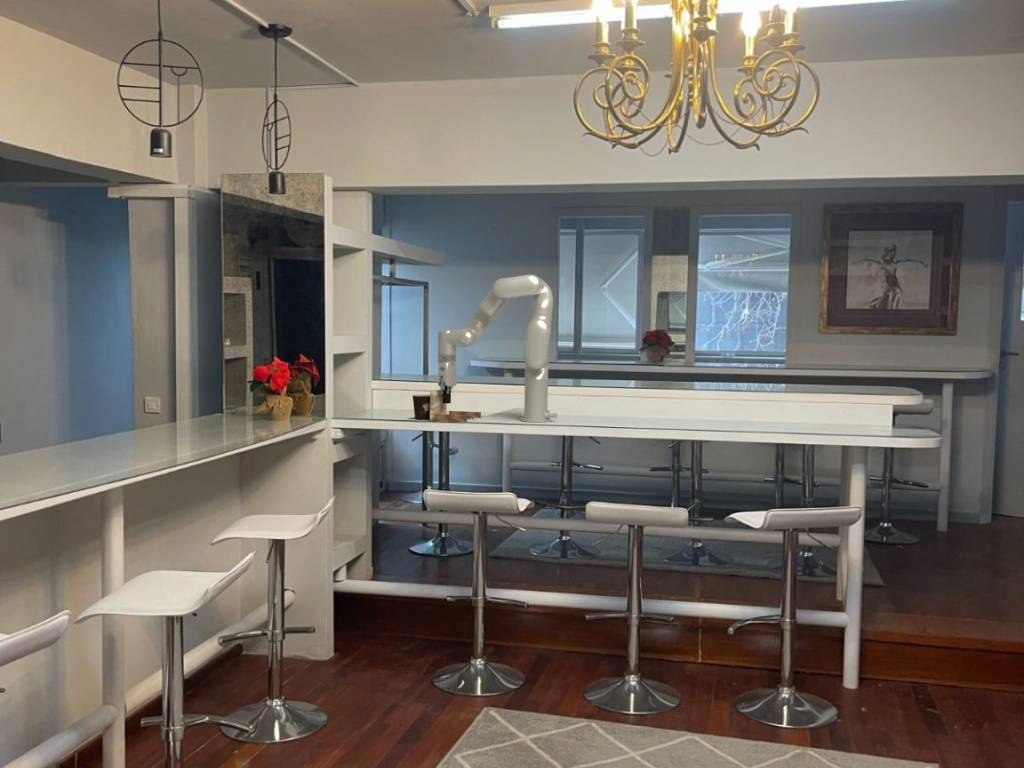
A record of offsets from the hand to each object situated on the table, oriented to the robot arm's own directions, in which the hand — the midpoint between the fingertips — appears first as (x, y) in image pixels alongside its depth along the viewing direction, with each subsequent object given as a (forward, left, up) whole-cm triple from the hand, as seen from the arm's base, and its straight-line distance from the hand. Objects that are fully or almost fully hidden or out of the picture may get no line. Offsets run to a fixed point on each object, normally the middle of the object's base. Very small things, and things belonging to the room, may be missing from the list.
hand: (446, 403), depth 398 cm
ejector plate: (+4, 0, -7) cm, 8 cm away
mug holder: (-5, 0, -7) cm, 9 cm away
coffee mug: (+8, +2, -7) cm, 11 cm away
